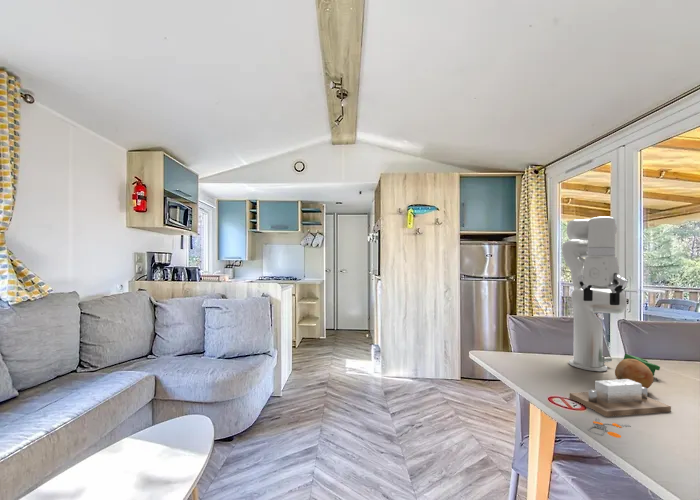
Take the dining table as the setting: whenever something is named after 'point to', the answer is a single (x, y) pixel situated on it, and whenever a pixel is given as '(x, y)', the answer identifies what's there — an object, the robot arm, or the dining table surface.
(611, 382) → the silver metal block
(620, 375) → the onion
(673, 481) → the dining table surface
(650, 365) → the clamp
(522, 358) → the dining table surface
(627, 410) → the peg board
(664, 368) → the dining table surface
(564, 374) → the dining table surface
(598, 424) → the key chain
